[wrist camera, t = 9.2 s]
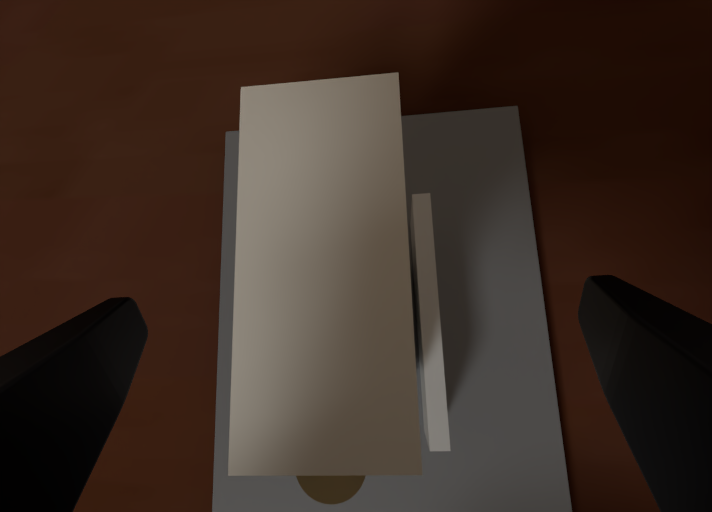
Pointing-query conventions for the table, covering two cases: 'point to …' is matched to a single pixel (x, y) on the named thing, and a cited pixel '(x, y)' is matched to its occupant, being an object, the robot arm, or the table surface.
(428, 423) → the grey base plate
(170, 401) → the table surface
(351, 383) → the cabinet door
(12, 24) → the table surface
